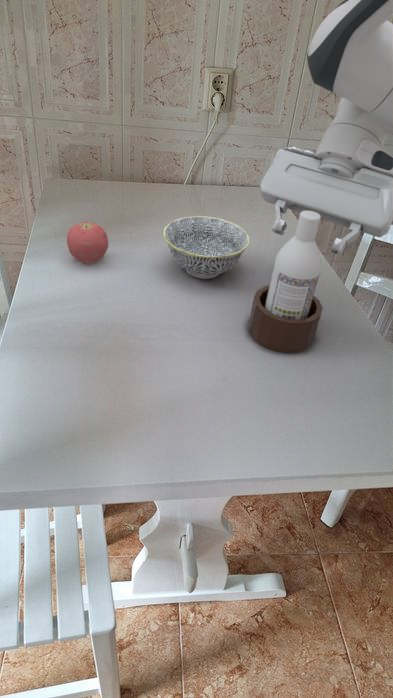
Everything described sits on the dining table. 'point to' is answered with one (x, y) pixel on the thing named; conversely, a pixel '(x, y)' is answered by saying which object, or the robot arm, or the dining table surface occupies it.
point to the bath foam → (296, 271)
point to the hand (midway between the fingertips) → (305, 242)
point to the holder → (282, 326)
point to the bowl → (205, 244)
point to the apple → (87, 242)
